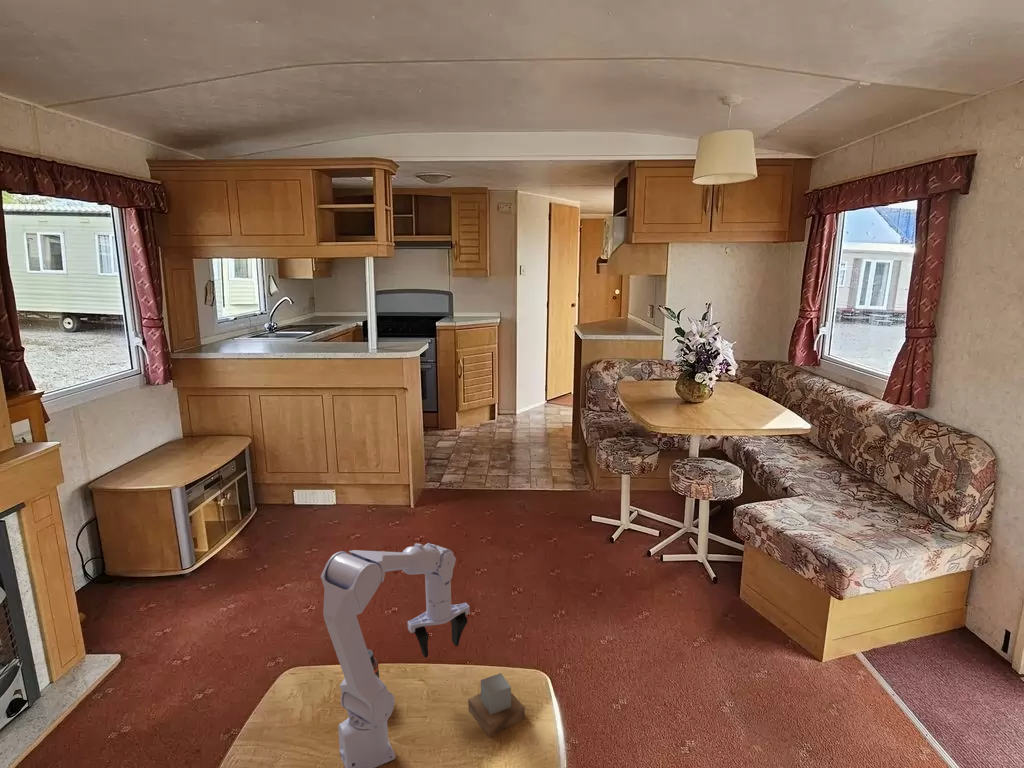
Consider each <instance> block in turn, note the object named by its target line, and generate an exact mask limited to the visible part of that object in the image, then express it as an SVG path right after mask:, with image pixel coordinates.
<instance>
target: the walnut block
mask: <svg viewBox="0 0 1024 768" xmlns="http://www.w3.org/2000/svg"><path fill="white" fill-rule="evenodd" d="M467 703H468V704H467V705H468V713H469V714H470V715H471V716H472V717H473V719H474V720H475V721H476V722H477V724H478V725H479V726H480V727H481V728H482V730H483V731H484V732H485V734H487V736H488V737H489V738H491V737H493V736H495V735H497V734H499V733H502V732H503V731H504V730H507V729H508V728H511V727H512V726H514V725H517V724H518V723H520V722H522V721H524V720H525V717H526V716H525V710H526V709H525V706H524V705H523V704H522V703H521V702H520V700H518V698H517V697H516V696H515V695H514V694H513V693H512V692H511V707H510V708H508V709H505V710H502V711H500V712H497V713H494V714H492V715H490V714H489V712H488V710H487V709H486V707H485V706H484V704H483V702H482V701H481V692H480V693H478V694H475V695H474V696H472V697H470V698H468V701H467Z"/></svg>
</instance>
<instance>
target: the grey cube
mask: <svg viewBox="0 0 1024 768" xmlns="http://www.w3.org/2000/svg"><path fill="white" fill-rule="evenodd" d="M480 693H481V701H482V702H483V704H484V706H485V707H486V709H487V710H488V712H489V714H490V715H492V714H494V713H497V712H500V711H502V710H505V709H508V708H510V707H511V693H512V687H511V685H510V683H509V682H508V680H507V679H506V678H505V677H504V675H503V674H502V672H500V673H497V674H494V675H492V676H489V677H485V678H483V679H480Z"/></svg>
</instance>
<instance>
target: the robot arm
mask: <svg viewBox="0 0 1024 768" xmlns="http://www.w3.org/2000/svg"><path fill="white" fill-rule="evenodd" d="M349 553H350V554H349ZM456 560H457V557H455V555H454V553H453V551H452V549H448V548H446V547H443V546H440V545H438V544H437V545H436V544H433V543H430V542H428V543H426V544H422V543H414V545H413V546H408V547H406V548H404V549H403V550H402V552H401V551H381V550H380V551H379V550H361V549H360V550H357V549H353V550H349V551H348V553H347V552H346V551H337V552H335V553H334V554H332V555H331V556H330V557H329V559H328V560H327V562H326V563H325V566H324V569H323V570H322V573H321V574H320V579H321V583H322V585H323V590H324V592H323V593H324V595H323V596H324V597H323V611H322V612H323V613H322V614H323V620H324V623H325V626H326V628H327V632H328V633H329V637H330V640H331V643H332V646H333V648H334V651H335V653H336V657H337V660H338V662H339V663H338V664H339V666H340V669H341V671H342V674H343V677H344V678H343V679H342V681H341V682H340V684H339V687H340V692H341V693H340V705H341V707H342V708H343V709H345V710H347V716H348V717H347V718H346V719H345V720H344V721H342V722H340V723H339V724H338V725H337V727H338V728H337V729H338V743H339V750H338V752H339V754H340V759H341V761H342V763H343V766H344V768H378V767H380V766H383V765H384V764H388V763H389V762H391V761H393V760H395V759H396V754H395V751H394V749H393V748H392V745H391V743H390V741H389V733H388V731H389V730H388V720H389V718H390V717H391V715H392V713H393V711H394V707H395V696H394V694H393V692H391V691H389V690H388V687H387V686H386V684H385V683H384V682H383V680H382V679H380V677H379V678H378V677H377V676H376V674H375V672H374V669H373V666H372V663H371V660H370V657H369V654H368V651H367V649H368V648H367V645H366V641H365V639H364V635H363V632H362V628H361V626H360V623H359V620H358V616H359V615H361V614H363V612H364V610H365V608H366V607H367V606H368V604H369V603H370V601H371V599H372V598H373V596H374V595H375V593H376V592H377V590H378V588H379V587H380V584H383V582H384V581H385V575H386V572H392V571H393V572H395V571H401V570H402V572H403V573H405V574H407V575H410V576H411V575H423V574H424V582H425V583H424V584H425V585H424V586H425V587H424V588H425V606H426V607H425V608H426V609H425V611H424V612H423V613H421V614H420V615H417V616H415V617H414V618H413V619H412V618H411V619H410V620H407V629H408V632H409V633H410V634H412V633H414V635H415V637H416V639H417V641H418V643H419V647H420V650H421V653H422V655H423V657H424V658H426V659H427V658H428V657H429V647H428V645H429V644H428V642H429V638H430V637H429V636H430V635H429V632H427V629H426V627H429V626H439V625H444V624H447V623H449V622H450V625H451V642H452V643H453V645H454V646H455V647H458V646H459V644H460V639H461V637H462V633H463V631H464V628H465V627H466V625H467V624H468V617H467V616H466V615H469V614H470V612H471V611H470V605H469V604H468V603H467V602H462V603H459V604H458V603H456V604H452V587H451V586H452V585H451V584H452V581H451V580H452V579H453V576H454V575H453V574H454V572H453V571H454V568H455V566H456Z"/></svg>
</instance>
